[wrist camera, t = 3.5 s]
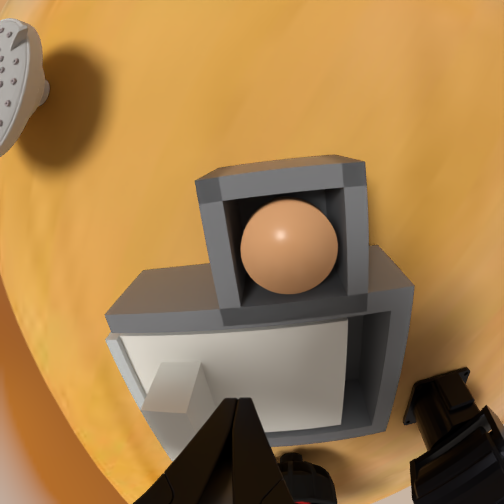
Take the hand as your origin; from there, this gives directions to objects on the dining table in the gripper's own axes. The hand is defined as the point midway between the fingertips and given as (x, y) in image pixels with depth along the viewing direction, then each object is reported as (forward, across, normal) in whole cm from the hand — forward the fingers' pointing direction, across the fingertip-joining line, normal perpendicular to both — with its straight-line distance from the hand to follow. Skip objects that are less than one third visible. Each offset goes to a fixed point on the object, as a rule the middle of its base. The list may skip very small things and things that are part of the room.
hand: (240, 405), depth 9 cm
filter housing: (+12, 0, +3) cm, 12 cm away
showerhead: (+12, +14, -15) cm, 24 cm away
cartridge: (+11, +2, +6) cm, 12 cm away
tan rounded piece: (+10, -2, -3) cm, 11 cm away
